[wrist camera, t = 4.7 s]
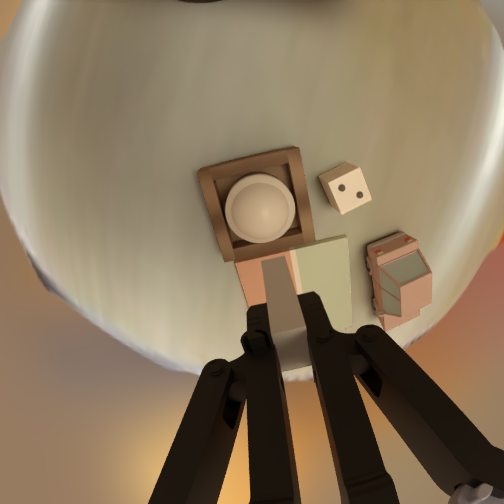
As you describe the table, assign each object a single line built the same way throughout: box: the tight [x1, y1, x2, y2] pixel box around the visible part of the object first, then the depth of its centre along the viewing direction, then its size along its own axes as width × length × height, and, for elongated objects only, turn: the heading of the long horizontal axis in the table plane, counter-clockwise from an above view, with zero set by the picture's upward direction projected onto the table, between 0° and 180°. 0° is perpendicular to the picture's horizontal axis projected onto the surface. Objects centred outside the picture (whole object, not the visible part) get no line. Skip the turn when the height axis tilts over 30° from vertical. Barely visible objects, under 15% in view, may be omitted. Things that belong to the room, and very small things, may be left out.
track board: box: [235, 235, 352, 330], centre depth 41 cm, size 17×16×1 cm
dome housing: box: [197, 146, 316, 262], centre depth 34 cm, size 12×12×3 cm
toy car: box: [365, 231, 432, 332], centre depth 36 cm, size 9×15×10 cm, turn 21°
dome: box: [225, 172, 295, 243], centre depth 31 cm, size 8×8×7 cm
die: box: [318, 162, 372, 215], centre depth 32 cm, size 4×4×5 cm
